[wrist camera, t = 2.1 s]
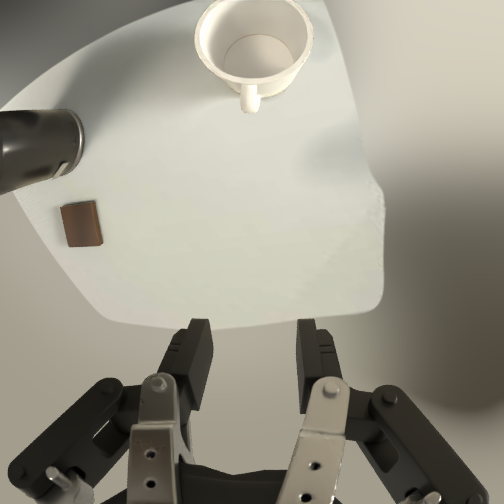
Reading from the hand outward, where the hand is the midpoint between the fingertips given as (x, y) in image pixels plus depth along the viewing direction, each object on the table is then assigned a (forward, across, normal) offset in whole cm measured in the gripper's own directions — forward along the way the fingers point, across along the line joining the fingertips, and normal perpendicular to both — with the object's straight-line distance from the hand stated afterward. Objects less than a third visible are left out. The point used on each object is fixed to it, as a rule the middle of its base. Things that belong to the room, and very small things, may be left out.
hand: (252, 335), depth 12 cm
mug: (+21, 0, -16) cm, 27 cm away
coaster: (+21, +25, 0) cm, 33 cm away
